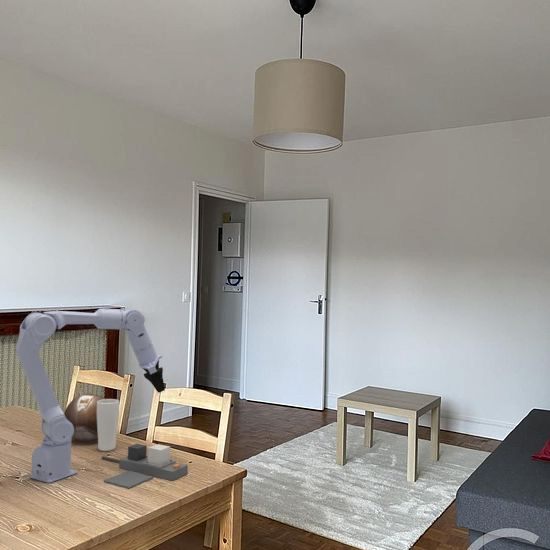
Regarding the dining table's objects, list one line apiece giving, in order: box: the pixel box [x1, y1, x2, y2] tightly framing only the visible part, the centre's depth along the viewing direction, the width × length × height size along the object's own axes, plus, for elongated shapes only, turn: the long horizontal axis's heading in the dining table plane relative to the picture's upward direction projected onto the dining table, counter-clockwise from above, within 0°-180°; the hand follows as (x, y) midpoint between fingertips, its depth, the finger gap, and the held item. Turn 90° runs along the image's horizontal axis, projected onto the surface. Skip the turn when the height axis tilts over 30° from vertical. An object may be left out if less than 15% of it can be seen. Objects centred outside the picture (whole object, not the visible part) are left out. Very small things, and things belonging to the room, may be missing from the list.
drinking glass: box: [97, 398, 120, 452], centre depth 174 cm, size 7×7×15 cm
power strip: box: [101, 443, 189, 482], centre depth 157 cm, size 6×29×6 cm, turn 61°
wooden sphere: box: [63, 393, 105, 442], centre depth 183 cm, size 15×15×15 cm
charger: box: [147, 443, 171, 466], centre depth 154 cm, size 4×4×4 cm
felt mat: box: [103, 470, 154, 490], centre depth 147 cm, size 9×9×1 cm
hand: (160, 387), depth 167 cm, fingers open, 7 cm apart
